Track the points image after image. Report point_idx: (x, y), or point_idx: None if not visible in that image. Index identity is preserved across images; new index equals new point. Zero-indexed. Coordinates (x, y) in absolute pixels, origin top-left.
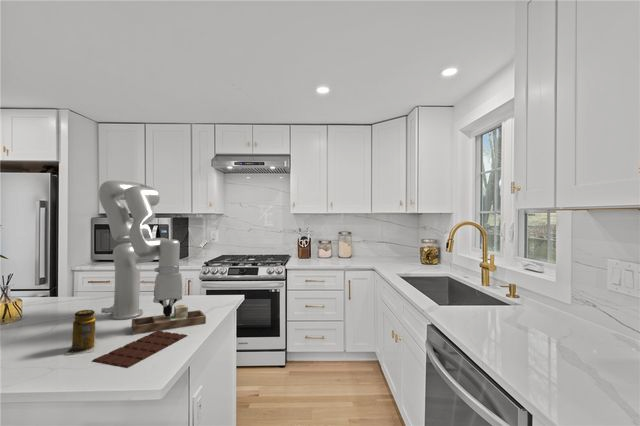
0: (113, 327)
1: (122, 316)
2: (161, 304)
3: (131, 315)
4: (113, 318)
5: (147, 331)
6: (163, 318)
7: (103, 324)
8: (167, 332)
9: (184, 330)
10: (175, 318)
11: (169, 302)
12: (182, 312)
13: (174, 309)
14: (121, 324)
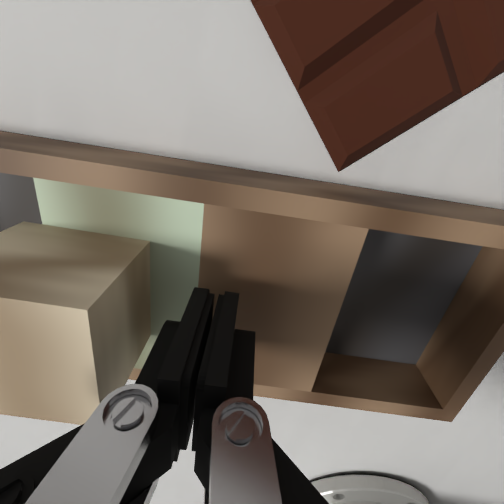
0: (498, 408)
1: (400, 499)
2: (297, 468)
3: (358, 492)
4: (427, 501)
5: (415, 198)
6: (253, 309)
7: (499, 464)
8: (297, 19)
9: (118, 25)
10: (151, 245)
11: (143, 492)
12: (37, 255)
13: (120, 371)
14: (439, 426)
